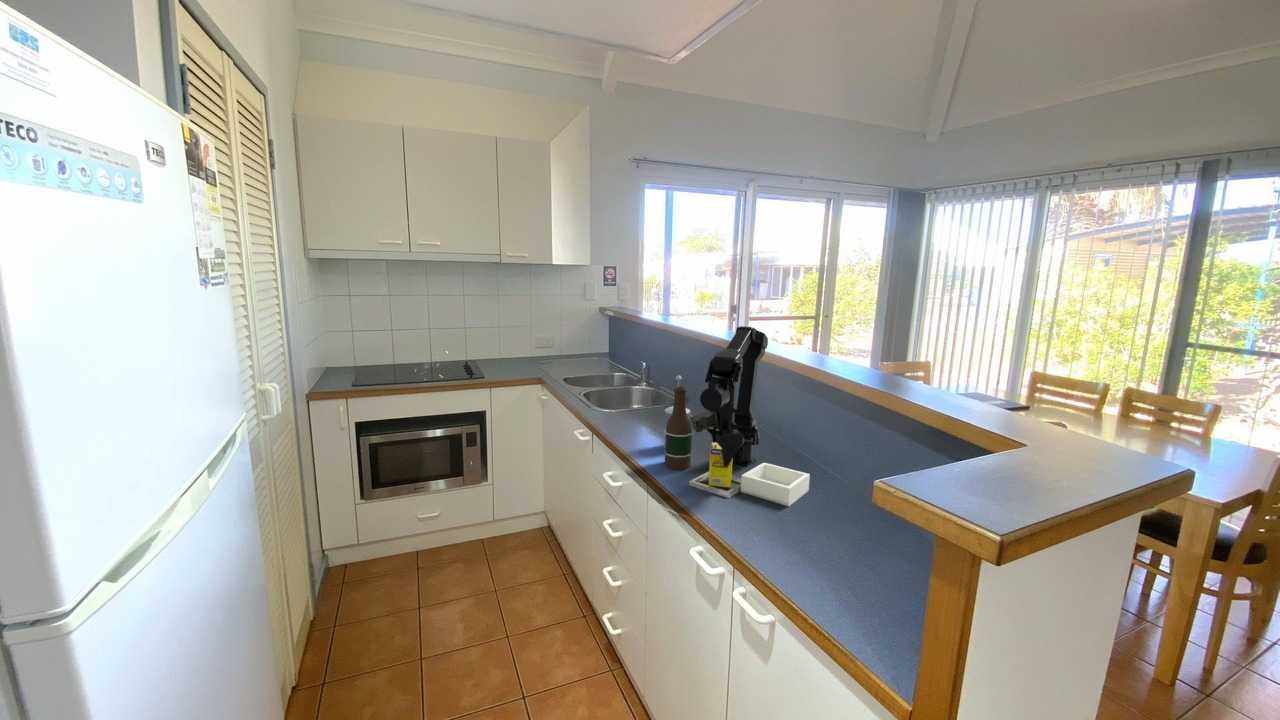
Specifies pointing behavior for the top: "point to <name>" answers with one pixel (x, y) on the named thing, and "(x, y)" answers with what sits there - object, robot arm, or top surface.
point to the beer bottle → (678, 434)
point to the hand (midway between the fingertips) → (721, 460)
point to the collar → (712, 489)
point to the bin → (775, 483)
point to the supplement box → (719, 469)
